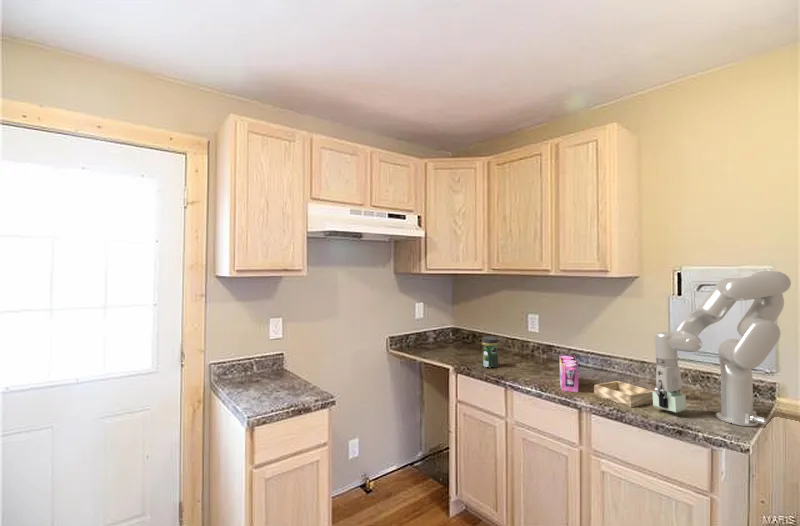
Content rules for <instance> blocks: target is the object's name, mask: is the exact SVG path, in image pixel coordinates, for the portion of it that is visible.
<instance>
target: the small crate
mask: <svg viewBox="0 0 800 526" xmlns="http://www.w3.org/2000/svg"><path fill="white" fill-rule="evenodd" d="M662 390H663V389H662ZM653 391H654V392H652V394H653V403H652V406H653V407H655V408H658V409H661V410H665V411H670V412H672V413H680V412H682V411H686V410H687V400H686V396H687V395H686V394H684V393H680V392H679V393H676V392H667V396H666V398H667V399H668V408H663V407H660V406H659V397H658V395H657V393H656V391H655V390H653ZM662 393H663V394H664V392H662Z"/></svg>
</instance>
